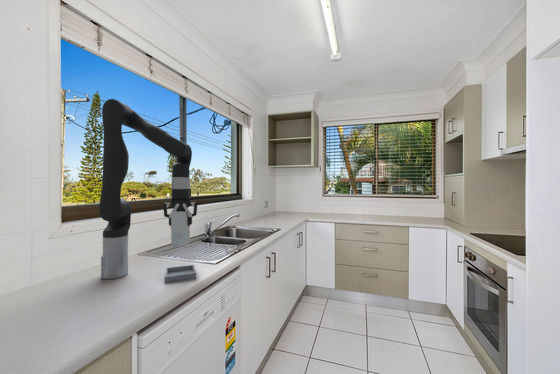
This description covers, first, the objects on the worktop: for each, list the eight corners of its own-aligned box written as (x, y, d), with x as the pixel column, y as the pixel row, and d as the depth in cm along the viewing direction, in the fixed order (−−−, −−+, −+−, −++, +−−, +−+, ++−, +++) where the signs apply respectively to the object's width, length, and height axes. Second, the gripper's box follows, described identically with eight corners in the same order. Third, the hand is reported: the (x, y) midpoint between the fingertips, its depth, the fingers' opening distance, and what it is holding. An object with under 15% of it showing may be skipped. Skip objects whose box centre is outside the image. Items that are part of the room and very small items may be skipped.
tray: (164, 283, 98) (164, 277, 98) (165, 273, 109) (165, 267, 109) (196, 279, 103) (196, 273, 103) (194, 269, 114) (194, 264, 114)
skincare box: (185, 247, 102) (185, 211, 102) (170, 247, 101) (170, 211, 101) (189, 242, 110) (190, 209, 110) (176, 243, 109) (176, 210, 109)
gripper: (162, 188, 99) (161, 228, 99) (198, 188, 105) (198, 226, 105) (162, 187, 106) (162, 225, 106) (197, 188, 112) (197, 224, 112)
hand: (180, 226), depth 106 cm, fingers closed on skincare box, 6 cm apart
